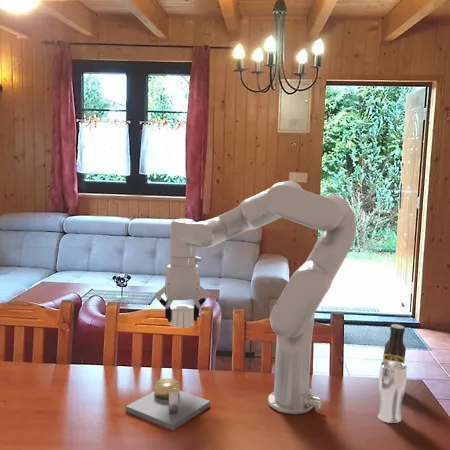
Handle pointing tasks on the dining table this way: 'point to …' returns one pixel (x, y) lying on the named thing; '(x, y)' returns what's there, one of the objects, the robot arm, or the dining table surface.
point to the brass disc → (165, 388)
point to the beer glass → (391, 390)
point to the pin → (173, 402)
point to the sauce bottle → (395, 345)
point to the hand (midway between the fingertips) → (182, 319)
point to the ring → (182, 316)
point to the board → (159, 409)
